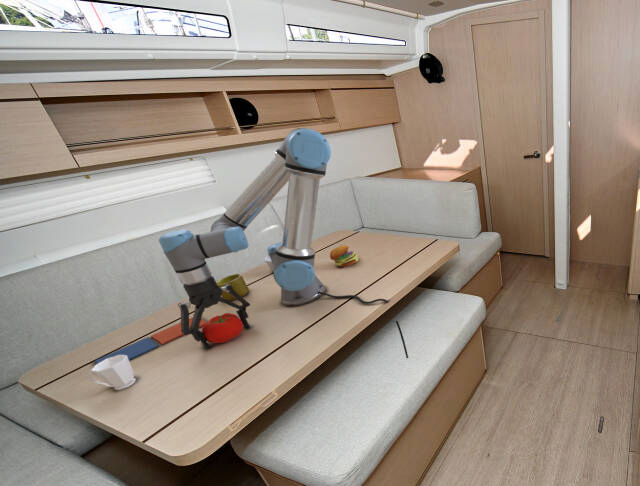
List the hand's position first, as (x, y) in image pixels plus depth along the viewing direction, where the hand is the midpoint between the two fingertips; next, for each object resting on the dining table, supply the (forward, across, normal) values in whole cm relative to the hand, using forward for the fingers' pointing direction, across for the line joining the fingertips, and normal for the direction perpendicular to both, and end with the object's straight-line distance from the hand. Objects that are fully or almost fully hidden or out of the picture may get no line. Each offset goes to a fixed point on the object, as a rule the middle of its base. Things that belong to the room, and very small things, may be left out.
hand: (227, 336), depth 118 cm
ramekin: (0, -40, -38) cm, 55 cm away
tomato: (0, 0, 0) cm, 0 cm away
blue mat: (0, +20, -22) cm, 30 cm away
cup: (0, +26, -4) cm, 26 cm away
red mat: (0, +6, -22) cm, 23 cm away
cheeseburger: (0, -55, -13) cm, 57 cm away
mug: (0, -15, -32) cm, 35 cm away
